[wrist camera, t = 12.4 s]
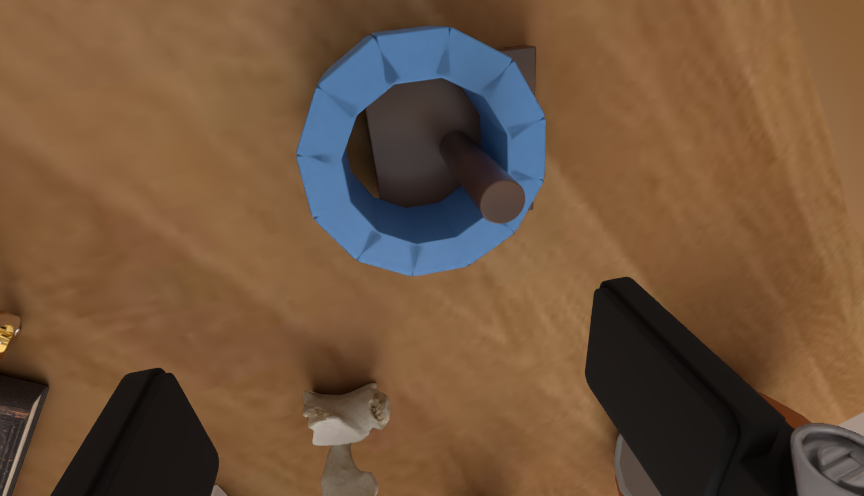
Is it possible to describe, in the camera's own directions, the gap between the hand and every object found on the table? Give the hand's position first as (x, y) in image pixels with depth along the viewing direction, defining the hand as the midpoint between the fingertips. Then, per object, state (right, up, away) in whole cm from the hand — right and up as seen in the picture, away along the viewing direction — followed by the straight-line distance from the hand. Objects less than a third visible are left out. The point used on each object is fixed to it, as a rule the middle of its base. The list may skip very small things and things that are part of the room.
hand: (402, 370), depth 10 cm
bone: (-7, -10, +26) cm, 29 cm away
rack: (+2, +9, +17) cm, 20 cm away
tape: (0, +9, +15) cm, 18 cm away
